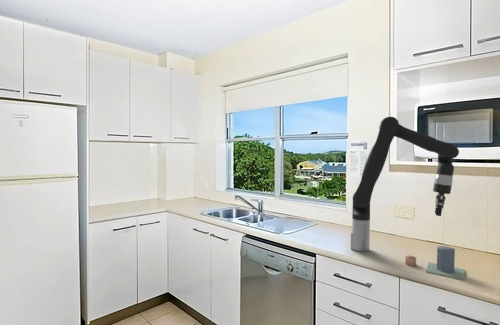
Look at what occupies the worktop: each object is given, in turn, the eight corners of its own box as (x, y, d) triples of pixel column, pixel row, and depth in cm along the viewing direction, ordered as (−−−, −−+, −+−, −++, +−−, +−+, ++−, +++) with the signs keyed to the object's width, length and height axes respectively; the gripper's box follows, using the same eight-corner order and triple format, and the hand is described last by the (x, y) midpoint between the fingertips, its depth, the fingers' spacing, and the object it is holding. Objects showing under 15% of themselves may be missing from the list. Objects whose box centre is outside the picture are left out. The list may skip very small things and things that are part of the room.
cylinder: (404, 264, 140) (404, 257, 140) (406, 261, 144) (406, 254, 144) (415, 266, 138) (415, 259, 137) (416, 263, 141) (416, 256, 141)
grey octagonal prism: (436, 270, 132) (437, 248, 132) (437, 266, 137) (438, 245, 137) (453, 274, 128) (454, 251, 128) (454, 269, 133) (454, 247, 133)
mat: (426, 272, 131) (426, 270, 131) (428, 263, 142) (428, 262, 142) (464, 280, 123) (464, 279, 123) (464, 270, 134) (464, 269, 133)
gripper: (433, 182, 157) (428, 211, 157) (435, 182, 145) (429, 214, 145) (450, 184, 153) (445, 215, 154) (453, 185, 141) (447, 218, 141)
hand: (437, 214), depth 149 cm, fingers open, 8 cm apart
